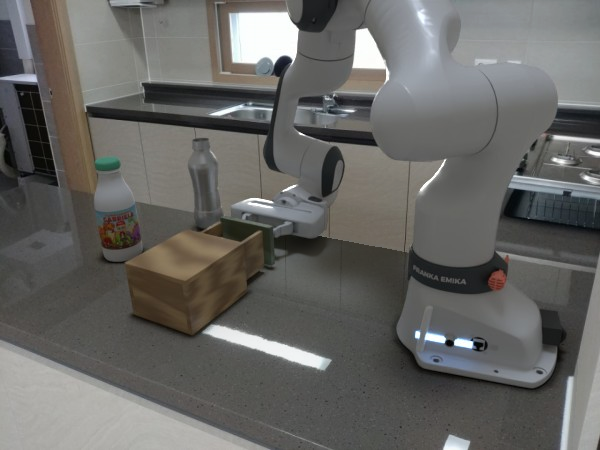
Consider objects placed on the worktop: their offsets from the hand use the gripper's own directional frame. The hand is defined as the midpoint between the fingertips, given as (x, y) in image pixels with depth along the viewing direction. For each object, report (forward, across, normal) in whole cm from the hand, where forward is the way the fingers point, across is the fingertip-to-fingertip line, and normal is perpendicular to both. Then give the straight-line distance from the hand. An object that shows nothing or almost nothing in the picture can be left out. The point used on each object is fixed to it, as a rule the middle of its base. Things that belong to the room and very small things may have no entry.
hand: (256, 230), depth 104 cm
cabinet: (+19, 0, +6) cm, 20 cm away
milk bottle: (+11, -25, +6) cm, 28 cm away
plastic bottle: (-8, -18, +6) cm, 20 cm away
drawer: (+7, 0, +5) cm, 8 cm away
